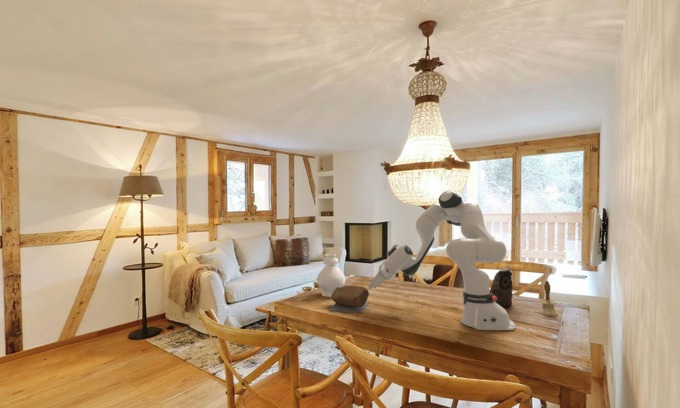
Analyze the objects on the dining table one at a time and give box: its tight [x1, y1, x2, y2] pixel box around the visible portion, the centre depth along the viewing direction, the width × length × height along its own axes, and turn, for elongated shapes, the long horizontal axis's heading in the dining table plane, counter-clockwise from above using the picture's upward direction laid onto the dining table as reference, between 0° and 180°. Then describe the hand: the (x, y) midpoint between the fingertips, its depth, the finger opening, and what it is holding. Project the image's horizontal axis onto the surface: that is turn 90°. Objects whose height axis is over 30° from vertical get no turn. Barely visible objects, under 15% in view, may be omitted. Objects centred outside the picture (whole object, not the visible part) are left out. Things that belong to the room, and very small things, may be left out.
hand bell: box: [538, 280, 559, 317], centre depth 169 cm, size 8×8×16 cm
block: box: [330, 284, 370, 308], centre depth 187 cm, size 11×8×20 cm
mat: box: [328, 301, 370, 314], centre depth 187 cm, size 18×18×1 cm
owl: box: [490, 266, 513, 310], centre depth 183 cm, size 13×13×20 cm
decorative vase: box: [316, 253, 346, 298], centre depth 215 cm, size 18×18×25 cm
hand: (369, 287), depth 182 cm, fingers closed
